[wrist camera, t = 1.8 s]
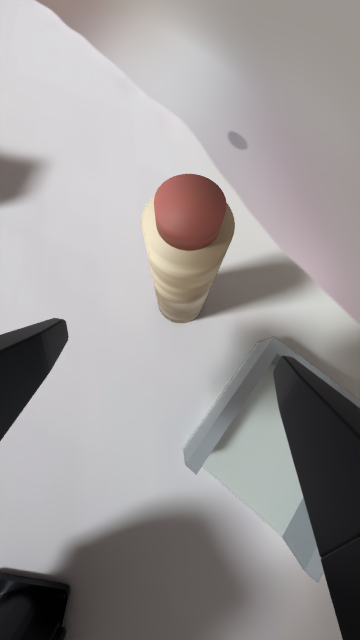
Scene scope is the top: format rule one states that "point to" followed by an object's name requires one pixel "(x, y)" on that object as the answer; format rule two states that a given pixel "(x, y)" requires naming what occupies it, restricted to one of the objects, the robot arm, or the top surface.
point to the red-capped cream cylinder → (186, 242)
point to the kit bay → (259, 450)
